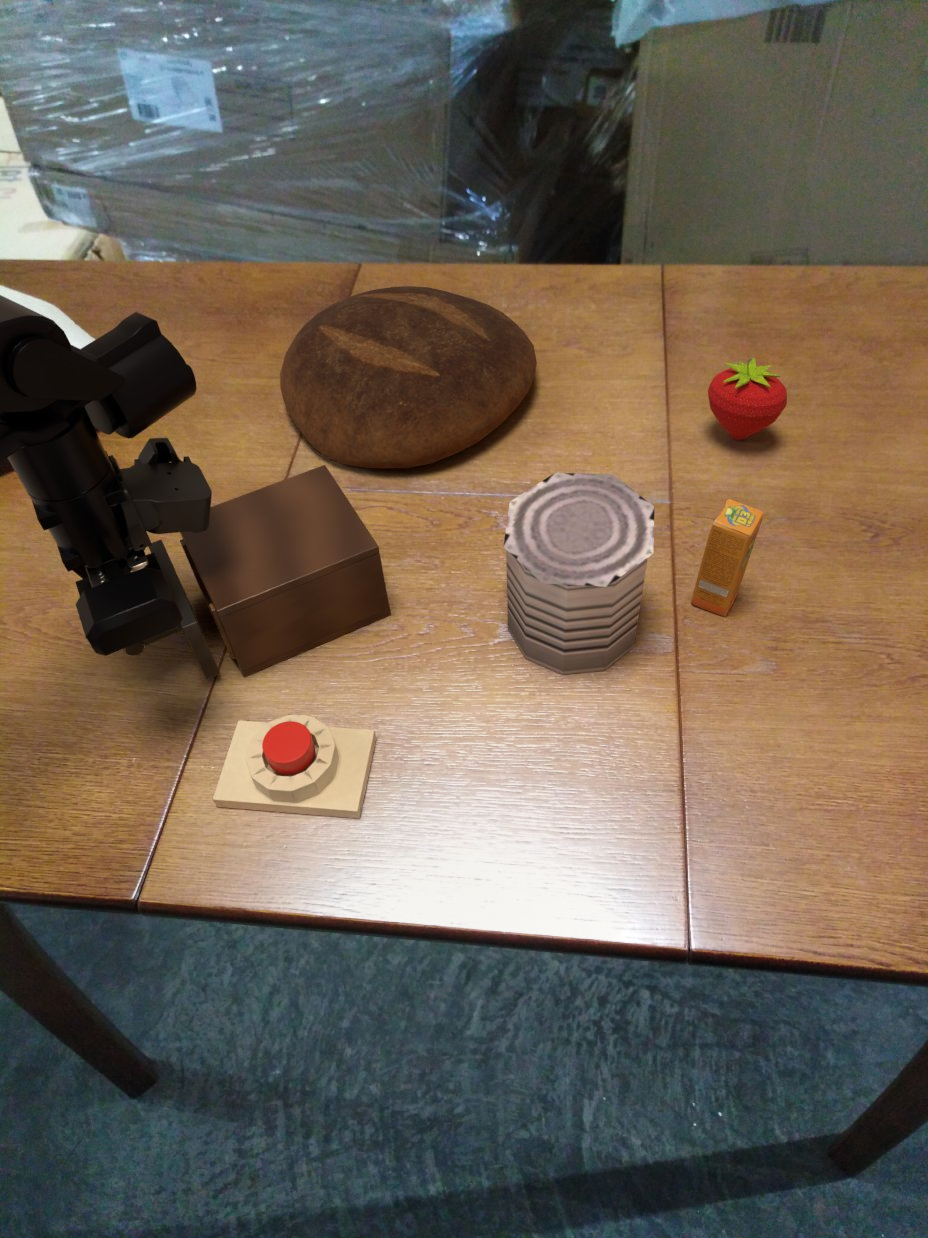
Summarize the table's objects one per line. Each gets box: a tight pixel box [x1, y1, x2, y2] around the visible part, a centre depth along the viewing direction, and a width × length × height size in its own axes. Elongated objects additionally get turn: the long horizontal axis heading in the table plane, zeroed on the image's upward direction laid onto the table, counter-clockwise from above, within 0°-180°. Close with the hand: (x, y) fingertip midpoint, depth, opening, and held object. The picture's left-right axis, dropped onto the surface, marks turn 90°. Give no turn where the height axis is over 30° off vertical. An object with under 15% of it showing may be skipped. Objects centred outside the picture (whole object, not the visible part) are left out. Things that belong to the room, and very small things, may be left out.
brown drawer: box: [123, 538, 235, 680], centre depth 75 cm, size 17×10×7 cm, turn 118°
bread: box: [279, 285, 538, 470], centre depth 95 cm, size 28×27×9 cm
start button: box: [262, 721, 315, 775], centre depth 66 cm, size 4×4×2 cm
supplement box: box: [690, 498, 765, 617], centre depth 73 cm, size 3×3×10 cm
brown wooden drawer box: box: [179, 464, 392, 678], centre depth 77 cm, size 14×12×9 cm
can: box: [503, 472, 656, 676], centre depth 72 cm, size 11×11×12 cm
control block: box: [212, 713, 377, 819], centre depth 67 cm, size 11×7×3 cm, turn 83°
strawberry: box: [707, 357, 788, 441], centre depth 87 cm, size 6×8×10 cm
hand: (143, 619), depth 73 cm, fingers closed, pressing on brown drawer
